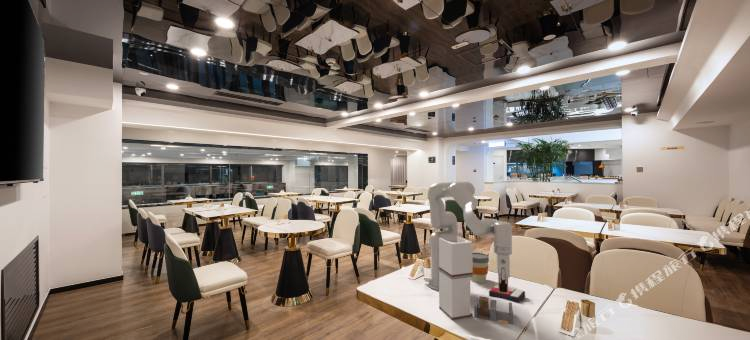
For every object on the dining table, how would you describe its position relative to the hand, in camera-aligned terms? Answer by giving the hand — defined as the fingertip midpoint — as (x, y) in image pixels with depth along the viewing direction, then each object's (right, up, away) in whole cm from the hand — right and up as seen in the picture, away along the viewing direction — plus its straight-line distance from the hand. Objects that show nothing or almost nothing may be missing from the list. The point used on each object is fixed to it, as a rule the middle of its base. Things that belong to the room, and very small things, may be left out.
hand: (503, 289), depth 133 cm
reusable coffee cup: (+5, -13, +46) cm, 48 cm away
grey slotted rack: (-4, -14, +2) cm, 14 cm away
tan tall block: (0, -1, 0) cm, 1 cm away
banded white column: (-20, -14, +5) cm, 25 cm away
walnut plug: (-7, -13, +3) cm, 15 cm away
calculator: (+12, -14, +23) cm, 29 cm away
